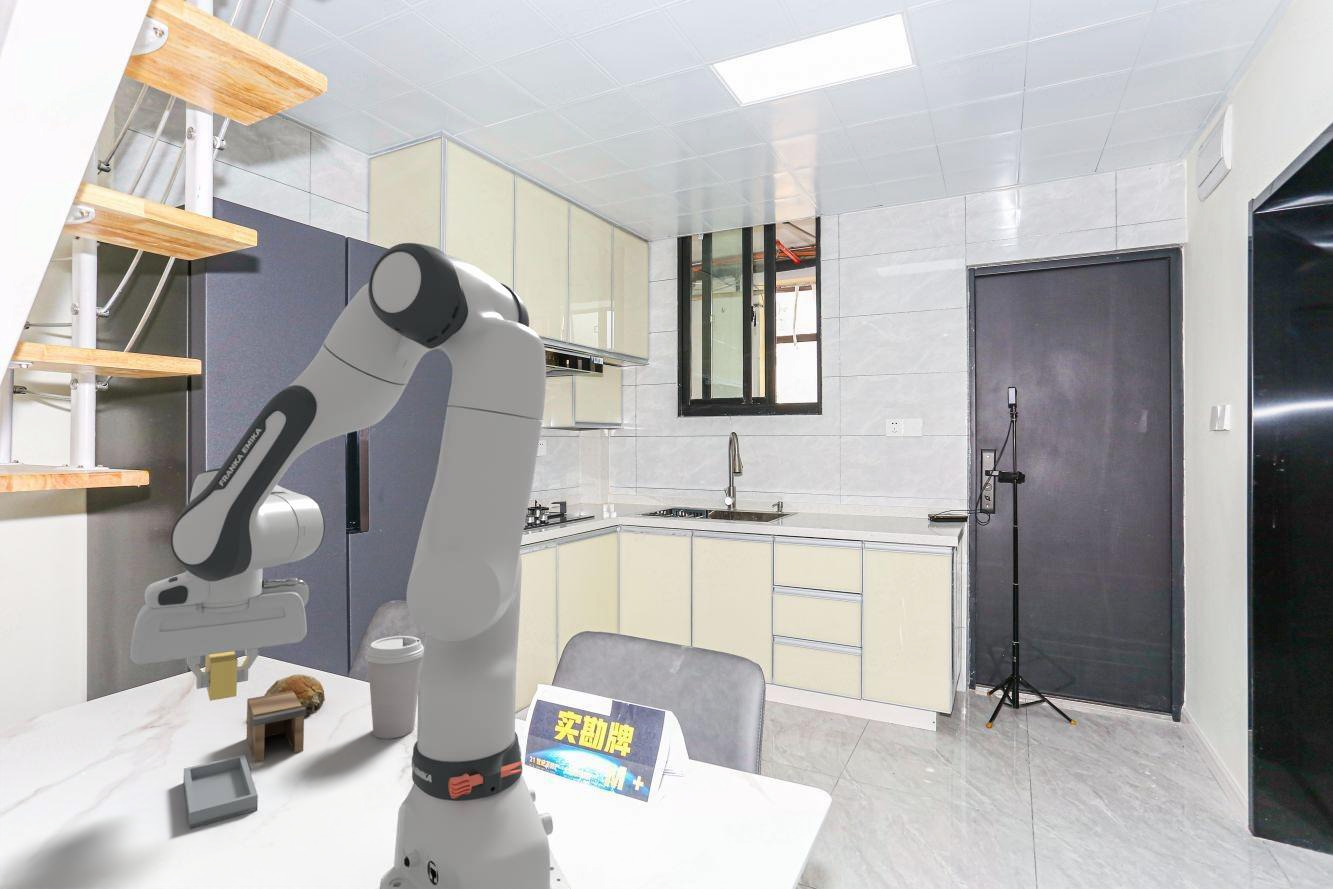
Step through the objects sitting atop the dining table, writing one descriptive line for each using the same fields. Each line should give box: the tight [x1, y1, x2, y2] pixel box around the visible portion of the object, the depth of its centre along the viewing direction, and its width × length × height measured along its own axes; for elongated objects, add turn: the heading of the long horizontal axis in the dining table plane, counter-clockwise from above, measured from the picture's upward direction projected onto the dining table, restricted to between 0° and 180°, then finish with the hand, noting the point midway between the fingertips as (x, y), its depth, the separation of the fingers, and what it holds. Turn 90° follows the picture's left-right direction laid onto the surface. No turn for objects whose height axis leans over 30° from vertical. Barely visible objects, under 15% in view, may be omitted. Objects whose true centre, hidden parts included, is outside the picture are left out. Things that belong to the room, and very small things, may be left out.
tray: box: [183, 754, 259, 830], centre depth 93 cm, size 14×7×2 cm, turn 38°
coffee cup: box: [364, 635, 424, 740], centre depth 115 cm, size 10×10×15 cm
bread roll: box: [263, 674, 326, 717], centre depth 123 cm, size 10×10×8 cm
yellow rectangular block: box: [204, 651, 239, 702], centre depth 95 cm, size 10×3×5 cm, turn 38°
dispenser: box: [246, 691, 307, 763], centre depth 109 cm, size 10×7×6 cm
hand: (222, 683), depth 93 cm, fingers closed on yellow rectangular block, 3 cm apart
